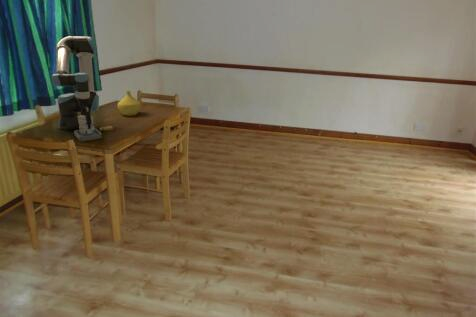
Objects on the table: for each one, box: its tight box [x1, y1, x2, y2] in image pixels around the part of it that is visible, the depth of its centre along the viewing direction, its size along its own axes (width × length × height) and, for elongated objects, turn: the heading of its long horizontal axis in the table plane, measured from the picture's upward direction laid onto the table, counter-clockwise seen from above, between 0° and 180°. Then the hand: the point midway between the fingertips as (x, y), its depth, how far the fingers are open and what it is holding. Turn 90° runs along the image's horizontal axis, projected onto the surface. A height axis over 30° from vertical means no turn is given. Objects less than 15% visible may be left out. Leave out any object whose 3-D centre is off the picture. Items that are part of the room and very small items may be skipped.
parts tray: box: [73, 127, 103, 143], centre depth 243 cm, size 16×14×3 cm
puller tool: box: [98, 125, 114, 132], centre depth 260 cm, size 8×4×2 cm, turn 125°
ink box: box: [78, 114, 95, 135], centre depth 241 cm, size 9×5×12 cm, turn 69°
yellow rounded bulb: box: [117, 90, 142, 117], centre depth 299 cm, size 18×18×19 cm
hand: (87, 131), depth 243 cm, fingers closed on ink box, 9 cm apart
